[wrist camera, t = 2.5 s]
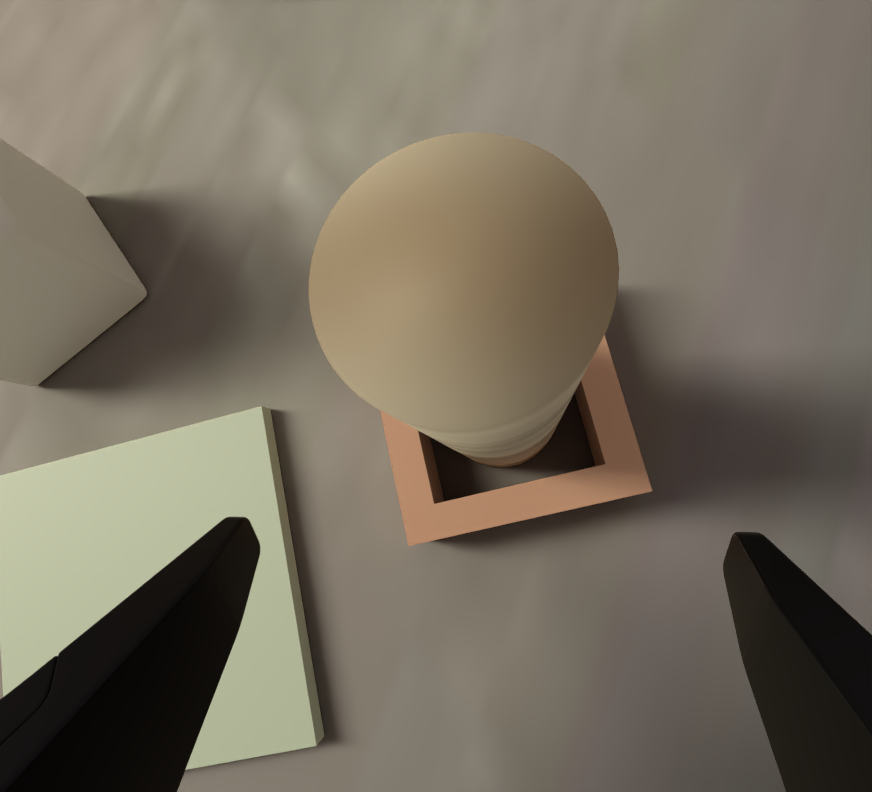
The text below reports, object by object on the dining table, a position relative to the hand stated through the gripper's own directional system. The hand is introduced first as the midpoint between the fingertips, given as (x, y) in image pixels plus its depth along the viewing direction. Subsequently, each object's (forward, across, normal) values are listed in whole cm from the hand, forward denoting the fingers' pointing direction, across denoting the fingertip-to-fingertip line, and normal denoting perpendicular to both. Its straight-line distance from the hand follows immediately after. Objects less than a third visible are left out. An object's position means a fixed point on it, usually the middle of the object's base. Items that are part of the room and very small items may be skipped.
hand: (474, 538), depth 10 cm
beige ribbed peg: (+10, 0, +5) cm, 12 cm away
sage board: (+5, +15, +10) cm, 19 cm away
